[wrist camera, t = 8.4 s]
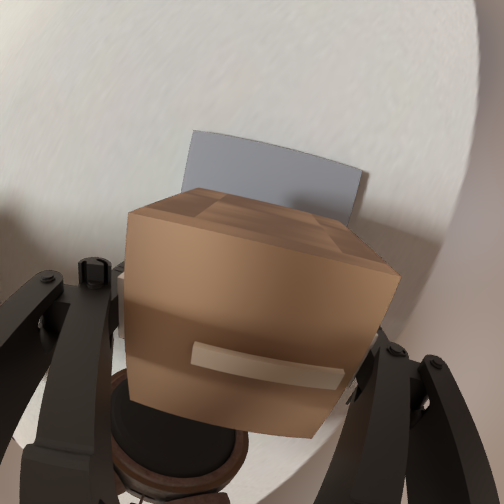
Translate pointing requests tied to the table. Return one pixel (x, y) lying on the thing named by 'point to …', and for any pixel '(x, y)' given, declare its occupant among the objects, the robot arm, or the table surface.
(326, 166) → the plate
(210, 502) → the alarm clock
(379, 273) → the tan drawer box
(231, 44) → the table surface
